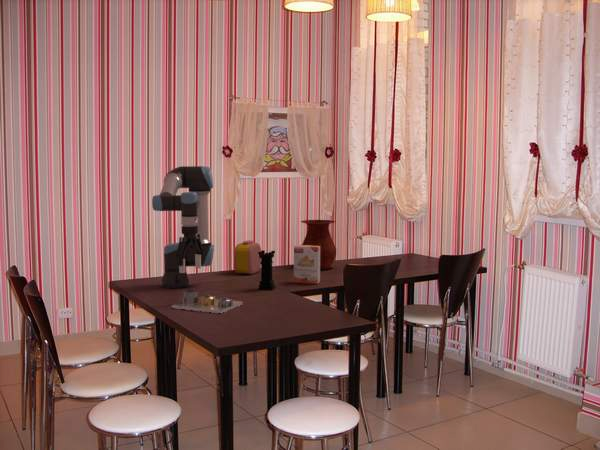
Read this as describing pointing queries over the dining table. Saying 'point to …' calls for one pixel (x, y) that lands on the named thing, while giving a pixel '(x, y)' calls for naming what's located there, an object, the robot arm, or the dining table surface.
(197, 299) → the gear
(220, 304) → the carrier
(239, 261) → the lunch box
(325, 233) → the vase
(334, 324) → the dining table surface
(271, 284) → the chess piece
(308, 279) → the cracker box
